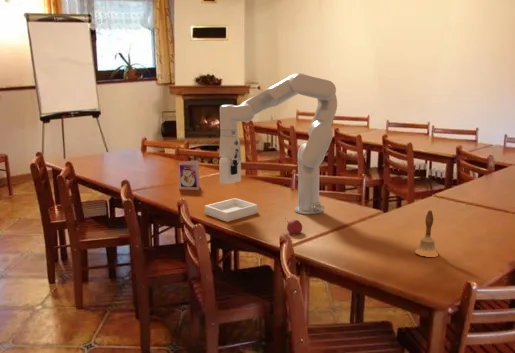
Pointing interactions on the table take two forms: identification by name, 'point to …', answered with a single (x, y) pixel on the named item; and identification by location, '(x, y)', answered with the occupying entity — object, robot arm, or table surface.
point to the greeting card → (188, 175)
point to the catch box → (231, 209)
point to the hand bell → (428, 235)
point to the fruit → (294, 227)
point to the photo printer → (228, 171)
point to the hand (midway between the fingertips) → (230, 172)
